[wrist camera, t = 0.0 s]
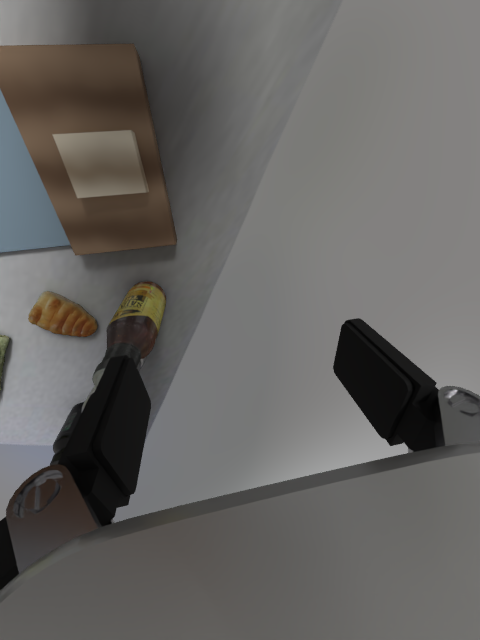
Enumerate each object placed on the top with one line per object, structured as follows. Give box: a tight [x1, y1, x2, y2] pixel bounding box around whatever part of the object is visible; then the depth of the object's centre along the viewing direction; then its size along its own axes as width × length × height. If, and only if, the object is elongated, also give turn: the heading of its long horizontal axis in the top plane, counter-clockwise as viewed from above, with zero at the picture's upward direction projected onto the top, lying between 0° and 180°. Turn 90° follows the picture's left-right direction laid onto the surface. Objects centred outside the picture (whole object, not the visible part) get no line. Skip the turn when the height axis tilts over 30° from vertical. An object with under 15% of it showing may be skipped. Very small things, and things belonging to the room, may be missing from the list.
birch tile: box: [52, 130, 149, 198], centre depth 27 cm, size 6×8×2 cm
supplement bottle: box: [50, 402, 84, 465], centre depth 47 cm, size 7×7×12 cm
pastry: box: [28, 291, 97, 337], centre depth 39 cm, size 9×7×4 cm
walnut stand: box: [0, 44, 177, 255], centre depth 29 cm, size 20×14×3 cm
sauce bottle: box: [92, 282, 166, 387], centre depth 32 cm, size 7×6×20 cm
